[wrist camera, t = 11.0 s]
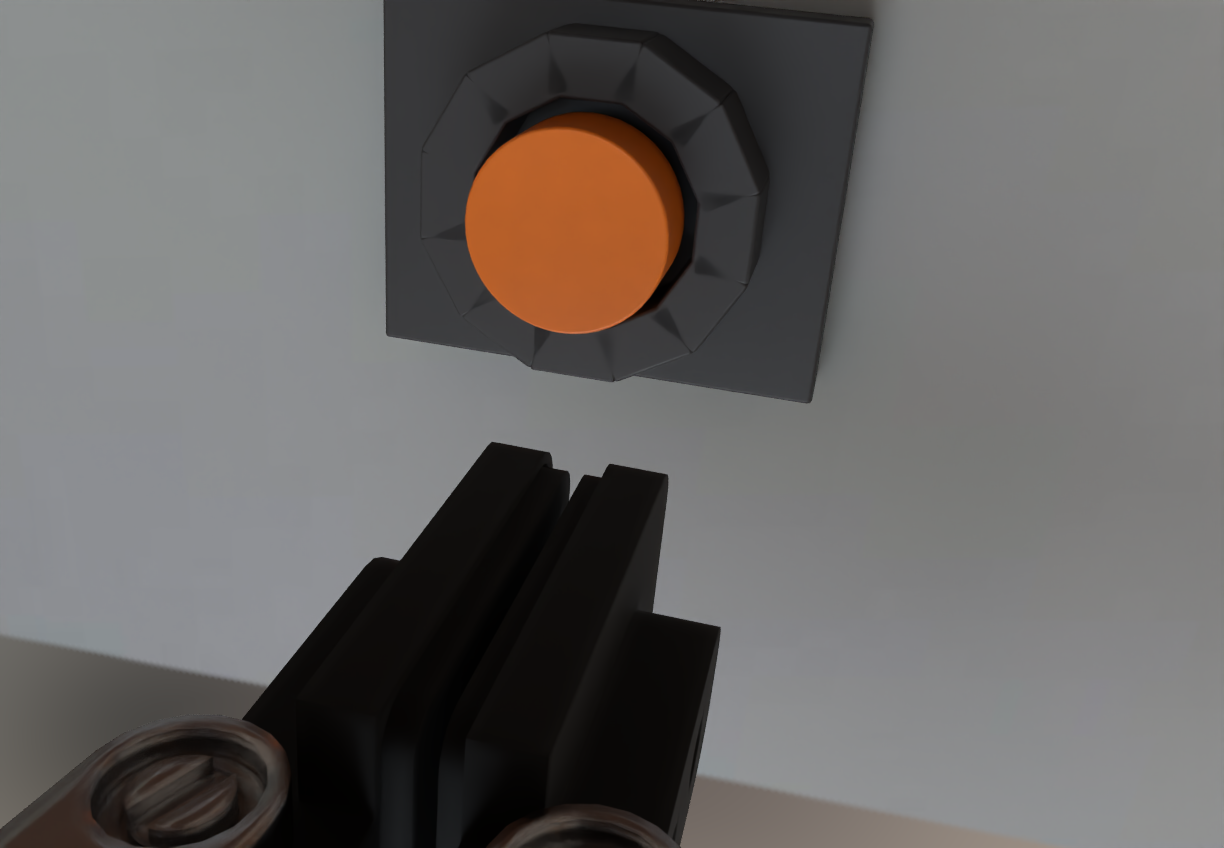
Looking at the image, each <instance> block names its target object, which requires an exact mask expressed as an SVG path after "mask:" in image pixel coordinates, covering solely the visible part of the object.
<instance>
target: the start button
mask: <svg viewBox="0 0 1224 848" xmlns="http://www.w3.org/2000/svg"><path fill="white" fill-rule="evenodd" d="M683 230H684V203H683V197H682V193H681V188H680V185H679V183H678V180H677V177H676V175H675V173H674V171H673V169H672V167H671V165H670V163H669V161H668V160H667V159H666V157H665V156H664V154H663V153H662V151H661V150H660V149H659V148H658V147H657V146H656V145H655V144H654V142H653V141H651V140H650V139H649V138H648V137H647V136H646V135H645V134H643V133H642V132H641V131H639V130H638V129H636V128H635V127H633V126H632V125H630V124H628V123H626V122H624V121H622V120H620V119H617V118H614V117H611V116H608V115H604V114H599V113H593V112H572V113H565V114H561V115H556V116H553V117H551V118H548V119H545V120H543V121H541V122H539V123H538V124H536V125H534V126H532V127H531V128H529V129H527V130H525V131H524V132H522V133H520V134H519V135H517V136H515V137H514V138H512V139H510V140H509V141H507V142H506V143H504V144H503V145H502V146H501V147H499V148H498V149H497V150H496V151H495V152H494V153H493V154H492V155H491V156H490V157H489V158H488V159H487V160H486V162H485V163H484V164H483V166H482V167H481V168H480V170H479V172H478V174H477V176H476V177H475V179H474V181H473V184H472V187H471V189H470V192H469V196H468V200H467V205H466V213H465V233H466V239H467V245H468V249H469V253H470V256H471V259H472V262H473V264H474V266H475V269H476V271H477V273H478V275H479V277H480V278H481V280H482V282H483V283H484V285H485V286H486V287H487V289H488V290H489V291H490V293H491V294H492V295H493V296H494V297H495V298H496V299H497V301H498V302H499V303H500V304H501V305H503V306H504V307H505V308H506V309H507V310H509V311H510V312H511V313H513V314H514V315H516V316H517V317H519V318H520V319H522V320H524V321H526V322H528V323H530V324H532V325H534V326H536V327H539V328H542V329H545V330H549V331H553V332H558V333H566V334H586V333H591V332H597V331H601V330H604V329H607V328H610V327H612V326H615V325H617V324H619V323H621V322H623V321H624V320H626V319H627V318H629V317H630V316H632V315H633V314H634V313H635V312H637V311H638V310H639V309H640V308H641V307H642V306H643V305H644V304H645V303H646V302H647V300H648V299H649V298H650V297H651V295H652V294H653V292H654V291H655V289H656V288H657V286H658V285H659V283H660V281H661V280H662V278H663V277H664V275H665V274H666V272H667V271H668V269H669V268H670V266H671V265H672V263H673V261H674V259H675V257H676V255H677V253H678V250H679V247H680V244H681V240H682V235H683Z"/></svg>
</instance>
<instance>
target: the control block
mask: <svg viewBox="0 0 1224 848" xmlns="http://www.w3.org/2000/svg"><path fill="white" fill-rule="evenodd" d="M873 27H874V22H873V20H872V19H870V18H862V17H852V16H842V15H833V14H823V13H813V12H803V11H793V10H783V9H774V8H764V7H754V6H744V5H734V4H724V3H715V2H705V1H695V0H384V113H385V246H386V334H387V336H390V337H396V338H402V339H409V340H415V341H421V342H427V343H434V344H440V345H446V346H452V347H459V348H465V349H471V350H477V351H484V352H490V353H496V354H502V355H508V356H514V357H516V358H517V359H518V360H520V361H521V362H523V363H524V364H525V365H527V366H529V367H531V369H533V370H539V371H546V372H552V373H558V374H564V375H570V376H576V377H583V378H589V379H595V380H601V381H607V382H614V381H620V380H623V379H626V378H628V377H631V376H639V377H646V378H652V379H658V380H664V381H671V382H677V383H683V384H689V385H695V386H702V387H708V388H714V389H720V390H727V391H733V392H739V393H745V394H752V395H758V396H764V397H770V398H777V399H783V400H789V401H795V402H801V403H810V402H811V401H812V397H813V392H814V387H815V381H816V375H817V369H818V363H819V357H820V351H821V345H822V339H823V332H824V326H825V320H826V314H827V308H828V302H829V296H830V290H831V284H832V278H833V271H834V265H835V259H836V253H837V247H838V241H839V235H840V229H841V223H842V216H843V210H844V204H845V198H846V192H847V186H848V180H849V174H850V168H851V162H852V155H853V149H854V143H855V137H856V131H857V125H858V119H859V113H860V107H861V100H862V94H863V88H864V82H865V76H866V70H867V64H868V58H869V52H870V46H871V39H872V33H873ZM572 112H593V113H599V114H604V115H608V116H611V117H614V118H617V119H620V120H622V121H624V122H626V123H628V124H630V125H632V126H633V127H635V128H636V129H638V130H639V131H641V132H642V133H643V134H645V135H646V136H647V137H648V138H649V139H650V140H651V141H653V142H654V144H655V145H656V146H657V147H658V148H659V149H660V150H661V151H662V153H663V154H664V156H665V157H666V159H667V160H668V161H669V163H670V165H671V167H672V169H673V171H674V173H675V175H676V177H677V180H678V183H679V185H680V188H681V193H682V197H683V203H684V230H683V235H682V240H681V244H680V247H679V250H678V253H677V255H676V257H675V259H674V261H673V263H672V265H671V266H670V268H669V269H668V271H667V272H666V274H665V275H664V277H663V278H662V280H661V281H660V283H659V285H658V286H657V288H656V289H655V291H654V292H653V294H652V295H651V297H650V298H649V299H648V300H647V302H646V303H645V304H644V305H643V306H642V307H641V308H640V309H639V310H638V311H637V312H635V313H634V314H633V315H632V316H630V317H629V318H627V319H626V320H624V321H623V322H621V323H619V324H617V325H615V326H612V327H610V328H607V329H604V330H601V331H597V332H591V333H586V334H566V333H558V332H553V331H549V330H545V329H542V328H539V327H536V326H534V325H532V324H530V323H528V322H526V321H524V320H522V319H520V318H519V317H517V316H516V315H514V314H513V313H511V312H510V311H509V310H507V309H506V308H505V307H504V306H503V305H501V304H500V303H499V302H498V301H497V299H496V298H495V297H494V296H493V295H492V294H491V293H490V291H489V290H488V289H487V287H486V286H485V285H484V283H483V282H482V280H481V278H480V277H479V275H478V273H477V271H476V269H475V266H474V264H473V262H472V259H471V256H470V253H469V249H468V245H467V239H466V233H465V213H466V205H467V200H468V196H469V192H470V189H471V187H472V184H473V181H474V179H475V177H476V176H477V174H478V172H479V170H480V168H481V167H482V166H483V164H484V163H485V162H486V160H487V159H488V158H489V157H490V156H491V155H492V154H493V153H494V152H495V151H496V150H497V149H498V148H499V147H501V146H502V145H503V144H504V143H506V142H507V141H509V140H510V139H512V138H514V137H515V136H517V135H519V134H520V133H522V132H524V131H525V130H527V129H529V128H531V127H532V126H534V125H536V124H538V123H539V122H541V121H543V120H545V119H548V118H551V117H553V116H556V115H561V114H565V113H572Z"/></svg>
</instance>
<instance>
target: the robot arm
mask: <svg viewBox="0 0 1224 848" xmlns="http://www.w3.org/2000/svg"><path fill="white" fill-rule="evenodd" d="M569 493H570V474H569V472H568V471H564V470H558V469H553V464H552V457H551V454H550V452H544V451H539V450H534V449H528V448H523V447H517V446H512V445H507V444H501V443H496V442H491V443H490V444H489V445H488V446H487V447H486V449H485V450H484V451H483V453H482V454H481V455H480V457H479V458H478V459H477V461H476V462H475V463H474V465H473V466H472V467H471V468H470V470H469V471H468V472H467V474H466V475H465V476H464V478H463V479H462V480H461V482H460V483H459V484H458V486H457V487H456V488H455V490H454V491H453V492H452V493H451V495H450V496H449V497H448V499H447V500H446V501H445V503H444V504H443V505H442V507H441V508H440V509H439V511H438V512H437V513H436V514H435V516H434V517H433V518H432V520H431V521H430V522H429V524H428V525H427V526H426V528H425V529H424V530H423V532H422V533H421V534H420V536H419V537H418V538H417V539H416V541H415V542H414V543H413V545H412V546H411V547H410V549H409V550H408V551H407V553H406V554H405V555H404V557H403V558H402V559H401V560H400V561H399V560H394V559H389V558H384V557H379V558H374V559H373V560H372V561H371V562H370V563H368V564H367V565H366V566H365V567H364V569H363V570H362V571H361V572H360V574H359V575H358V576H357V577H356V578H355V580H354V581H353V582H352V583H351V585H350V586H349V587H348V588H347V590H346V591H345V592H344V593H343V595H342V596H341V597H340V598H339V600H338V601H337V602H336V603H335V605H334V606H333V607H332V608H331V609H330V611H329V612H328V613H327V614H326V616H325V617H324V618H323V619H322V621H321V622H320V623H319V624H318V626H317V627H316V628H315V629H314V631H313V632H312V633H311V634H310V635H309V637H308V638H307V639H306V640H305V642H304V643H303V644H302V645H301V647H300V648H299V649H298V650H297V652H296V653H295V654H294V655H293V657H292V658H291V659H290V660H289V662H288V663H287V664H286V665H285V666H284V668H283V669H282V670H281V671H280V673H279V674H278V675H277V676H276V678H275V679H274V680H273V681H272V683H271V684H270V685H269V686H268V688H267V689H266V690H265V691H264V693H263V694H262V695H261V696H260V698H259V699H258V700H257V701H256V703H255V704H254V705H253V706H252V707H251V709H250V710H249V711H248V712H247V714H246V715H245V716H244V717H243V719H242V720H240V719H235V718H231V717H227V716H222V715H183V716H178V717H172V718H167V719H162V720H157V721H153V722H150V723H148V724H145V725H143V726H140V727H137V728H135V729H132V730H130V731H127V732H124V733H123V734H121V735H119V736H118V737H116V738H115V739H113V740H112V741H110V742H109V743H107V744H105V745H104V746H102V747H101V748H99V749H98V750H96V751H95V752H94V753H92V754H91V755H90V756H89V757H87V758H86V759H85V760H84V761H83V762H82V763H80V764H79V765H78V766H76V767H75V768H74V769H73V770H72V771H70V772H69V773H68V774H67V775H66V776H64V778H62V779H61V780H60V781H58V782H57V783H56V784H55V785H53V786H52V787H51V788H50V789H49V790H47V791H46V792H45V793H44V794H42V795H41V796H40V797H39V798H38V799H36V800H35V801H34V802H33V803H31V804H30V805H29V806H28V807H27V808H25V809H24V810H23V811H22V812H20V813H19V814H18V815H17V816H16V817H14V818H13V819H12V820H11V821H10V822H8V823H7V824H6V825H5V826H3V827H2V828H1V829H0V848H681V847H680V843H681V838H682V834H683V830H684V825H685V821H686V817H687V813H688V809H689V804H690V800H691V796H692V791H693V787H694V782H695V778H696V773H697V768H698V763H699V759H700V754H701V748H702V743H703V738H704V733H705V727H706V722H707V716H708V711H709V705H710V699H711V693H712V686H713V680H714V674H715V667H716V661H717V655H718V648H719V641H720V632H721V629H720V627H717V626H713V625H708V624H703V623H698V622H693V621H688V620H684V619H679V618H674V617H669V616H664V615H659V614H655V613H652V612H653V604H654V596H655V588H656V580H657V573H658V565H659V557H660V549H661V541H662V533H663V525H664V518H665V510H666V502H667V493H668V475H667V474H662V473H657V472H651V471H646V470H641V469H635V468H630V467H625V466H619V465H614V464H609V465H608V467H607V468H606V470H605V472H604V474H603V476H602V478H601V477H595V476H590V475H584V476H583V477H582V479H581V481H580V482H579V484H578V486H577V488H576V490H575V491H574V493H573V495H572V497H571V499H570V500H569Z"/></svg>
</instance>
